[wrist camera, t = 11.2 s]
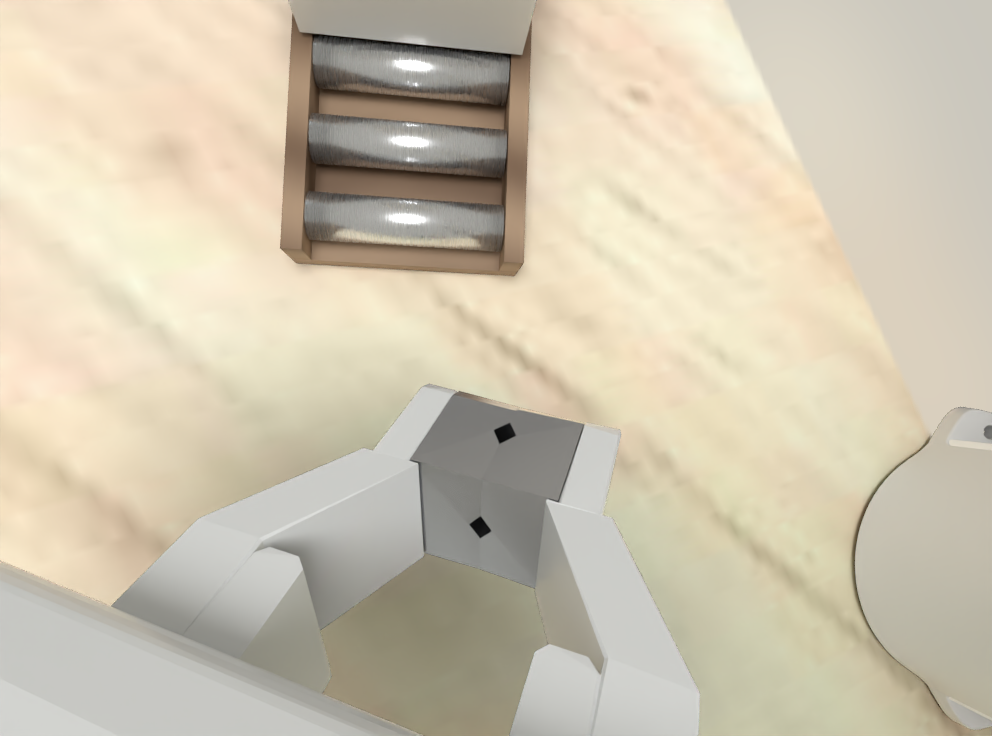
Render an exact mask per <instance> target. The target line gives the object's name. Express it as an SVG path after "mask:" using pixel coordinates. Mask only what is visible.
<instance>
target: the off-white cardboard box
mask: <svg viewBox="0 0 992 736" xmlns="http://www.w3.org/2000/svg"><path fill="white" fill-rule="evenodd" d="M288 2H289V4H290V7H291V10H292V12H293V15H294V18H295V20H296V23H297V26H298V29H299V31H300V32H304V33H314V34H324V35H333V36H343V37H353V38H362V39H372V40H382V41H391V42H401V43H411V44H420V45H430V46H440V47H449V48H459V49H469V50H478V51H488V52H498V53H507V54H517V55H522V53H523V49H524V46H525V42H526V38H527V34H528V31H529V27H530V23H531V19H532V16H533V12H534V8H535V4H536V0H288Z"/></svg>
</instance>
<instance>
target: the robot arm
mask: <svg viewBox="0 0 992 736" xmlns="http://www.w3.org/2000/svg"><path fill="white" fill-rule="evenodd" d="M984 431H985V432H984ZM983 432H984V433H983ZM620 437H621V432H620V430H619V429H615V428H610V427H605V426H601V425H596V424H592V423H584V422H579V421H575V420H571V419H567V418H562V417H558V416H554V415H550V414H545V413H541V412H537V411H533V410H528V409H524V408H520V407H517V406H513V405H509V404H506V403H502V402H498V401H494V400H491V399H487V398H483V397H479V396H475V395H472V394H468V393H464V392H460V391H459V392H457V391H455V390H451V389H447V388H443V387H440V386H436V385H432V384H427V385H425V386H423V387H421V388H420V389H419V391H418V392H417V393H416V395H415V396H414V397H413V399H412V400H411V401H410V402H409V404H408V405H407V406H406V408H405V409H404V410H403V412H402V413H401V414H400V415H399V417H398V418H397V419H396V421H395V422H394V423H393V425H392V426H391V427H390V428H389V430H388V431H387V432H386V434H385V435H384V436H383V438H382V439H381V440H380V441H379V443H378V444H377V445H376V447H375V448H374V449H373V450H369V449H365V448H362V449H360V450H358V451H355V452H353V453H351V454H348V455H346V456H344V457H341V458H339V459H337V460H334V461H332V462H330V463H327V464H325V465H322V466H320V467H318V468H315V469H313V470H311V471H308V472H306V473H304V474H301V475H299V476H297V477H294V478H292V479H290V480H287V481H285V482H283V483H280V484H278V485H276V486H273V487H271V488H269V489H266V490H264V491H261V492H259V493H257V494H254V495H252V496H250V497H247V498H245V499H243V500H240V501H238V502H236V503H233V504H231V505H229V506H226V507H224V508H222V509H219V510H217V511H215V512H212V513H210V514H208V515H205V516H203V517H200V518H198V519H197V520H196V521H195V522H194V523H193V524H192V525H191V526H190V527H189V528H188V529H187V530H186V531H185V532H184V533H183V534H182V535H181V536H180V537H179V538H178V539H177V540H176V541H175V542H174V543H173V544H172V545H171V546H170V547H169V548H168V549H167V550H166V551H165V552H164V553H163V554H162V555H161V556H160V557H159V558H158V559H157V560H156V561H155V562H154V564H153V565H152V566H151V567H150V568H149V569H148V570H147V571H146V572H145V573H144V574H143V575H142V576H141V577H140V578H139V579H138V580H137V581H136V582H135V583H134V584H133V585H132V586H131V587H130V588H129V589H128V590H127V591H126V592H125V593H124V594H123V595H122V596H121V597H120V598H119V599H118V600H117V601H116V602H115V603H114V604H113V605H112V606H109V605H107V604H104V603H102V602H99V601H97V600H95V599H92V598H90V597H87V596H85V595H82V594H80V593H78V592H75V591H73V590H70V589H68V588H65V587H63V586H61V585H58V584H56V583H53V582H51V581H49V580H46V579H44V578H41V577H39V576H36V575H34V574H32V573H29V572H27V571H24V570H22V569H19V568H17V567H15V566H12V565H10V564H7V563H5V562H2V561H0V736H424V735H421V734H419V733H416V732H414V731H412V730H409V729H407V728H404V727H402V726H400V725H397V724H395V723H392V722H390V721H387V720H385V719H383V718H380V717H378V716H375V715H373V714H371V713H368V712H366V711H363V710H361V709H358V708H356V707H354V706H351V705H349V704H346V703H344V702H342V701H339V700H337V699H334V698H332V697H329V696H327V695H325V694H322V693H323V692H324V690H325V688H326V686H327V684H328V683H329V681H330V679H331V677H332V675H331V670H330V664H329V661H328V657H327V654H326V650H325V646H324V643H323V639H322V636H321V632H320V630H322V629H323V628H324V627H326V626H327V625H329V624H330V623H331V622H333V621H334V620H336V619H337V618H338V617H340V616H341V615H343V614H344V613H345V612H347V611H348V610H350V609H351V608H352V607H354V606H355V605H357V604H358V603H359V602H361V601H362V600H364V599H365V598H366V597H368V596H369V595H371V594H372V593H373V592H375V591H376V590H378V589H379V588H380V587H382V586H383V585H385V584H386V583H387V582H389V581H390V580H392V579H393V578H394V577H396V576H397V575H399V574H400V573H401V572H403V571H404V570H406V569H407V568H408V567H410V566H411V565H413V564H414V563H415V562H417V561H418V560H419V559H421V558H422V557H424V553H427V554H430V555H434V556H437V557H440V558H444V559H447V560H451V561H454V562H457V563H461V564H464V565H468V566H471V567H474V568H478V569H479V568H480V569H481V570H484V571H486V572H489V573H492V574H495V575H498V576H501V577H503V578H506V579H509V580H512V581H515V582H518V583H520V584H523V585H526V586H529V587H532V588H535V595H536V599H537V602H538V606H539V610H540V614H541V618H542V622H543V626H544V630H545V634H546V638H547V642H548V645H546V646H544V647H543V648H541V649H539V650H537V651H535V653H534V656H533V659H532V663H531V666H530V669H529V672H528V676H527V679H526V682H525V685H524V689H523V692H522V695H521V698H520V702H519V705H518V708H517V711H516V715H515V718H514V721H513V724H512V728H511V731H510V734H509V736H698V733H699V708H700V692H699V690H698V688H697V686H696V684H695V682H694V680H693V678H692V676H691V674H690V672H689V670H688V668H687V666H686V664H685V662H684V660H683V658H682V656H681V654H680V652H679V650H678V648H677V646H676V644H675V642H674V640H673V638H672V636H671V634H670V632H669V630H668V628H667V626H666V624H665V622H664V620H663V618H662V616H661V614H660V612H659V610H658V608H657V606H656V604H655V602H654V600H653V598H652V596H651V594H650V592H649V590H648V588H647V586H646V584H645V582H644V580H643V578H642V575H641V573H640V571H639V569H638V567H637V565H636V563H635V561H634V559H633V557H632V555H631V553H630V551H629V549H628V547H627V545H626V543H625V541H624V539H623V537H622V535H621V533H620V531H619V529H618V527H617V525H616V523H615V521H614V519H613V518H610V517H607V516H604V515H603V514H604V510H605V505H606V501H607V496H608V492H609V487H610V483H611V478H612V474H613V469H614V465H615V460H616V455H617V451H618V446H619V442H620ZM855 576H856V585H857V591H858V595H859V599H860V603H861V606H862V609H863V612H864V614H865V617H866V619H867V621H868V623H869V625H870V627H871V629H872V631H873V633H874V634H875V636H876V637H877V639H878V640H879V642H880V643H881V644H882V646H883V647H884V648H885V649H886V650H887V651H888V652H889V654H890V655H891V656H893V657H894V658H895V659H896V660H897V661H898V662H899V663H900V664H902V665H903V666H904V667H906V668H907V669H909V670H910V671H911V672H913V673H914V674H916V675H917V676H918V677H919V678H921V679H922V680H923V681H924V682H925V683H926V684H927V685H928V687H929V688H930V690H931V692H932V694H933V696H934V697H935V699H936V701H937V702H938V704H939V706H940V707H941V709H942V710H943V711H944V713H945V714H946V715H947V716H948V717H949V718H950V719H951V720H953V721H955V722H957V723H959V724H961V725H963V726H965V727H967V728H969V729H972V730H979V729H984V728H988V727H991V726H992V413H990V412H987V411H983V410H979V409H971V408H965V407H958V408H954V409H953V410H951V411H950V412H949V413H948V414H947V415H946V416H945V417H944V418H943V420H942V421H941V423H940V424H939V426H938V427H937V429H936V431H935V432H934V434H933V436H932V437H931V439H930V441H929V443H928V444H927V445H926V446H925V447H924V448H923V449H922V450H920V451H919V452H918V453H917V454H915V455H914V456H912V457H911V458H910V459H908V460H907V461H905V462H904V463H903V464H901V465H900V466H899V467H898V468H896V469H895V470H894V471H893V472H892V473H891V474H890V475H889V476H888V477H887V479H886V480H885V481H884V482H883V483H882V485H881V486H880V487H879V489H878V490H877V492H876V493H875V495H874V496H873V498H872V500H871V502H870V503H869V506H868V508H867V510H866V512H865V515H864V517H863V520H862V523H861V526H860V530H859V534H858V538H857V544H856V553H855Z"/></svg>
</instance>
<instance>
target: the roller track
mask: <svg viewBox="0 0 992 736" xmlns="http://www.w3.org/2000/svg"><path fill="white" fill-rule="evenodd" d="M531 25H532V19H531V23H530V27H529V31H528V34H527V38H526V42H525V46H524V49H523V53H522V55H517V54H507V53H498V52H488V51H478V50H469V49H459V48H449V47H440V46H430V45H420V44H411V43H401V42H391V41H382V40H372V39H362V38H353V37H343V36H333V35H324V34H314V33H304V32H300V31H299V29H298V26H297V23H296V20H295V18H294V15H293V14H292V33H291V52H290V71H289V90H288V109H287V128H286V147H285V166H284V185H283V204H282V223H281V242H280V248H281V249H282V250H283V251H284V252H285V253H286V254H287V255H288V256H289V257H290V258H291V259H292V260H293V261H295V262H296V263H304V264H321V265H338V266H355V267H372V268H389V269H406V270H423V271H440V272H457V273H474V274H491V275H508V276H515V274H516V273H517V272H518V270H519V269H520V267H521V266H522V265H523V263H524V235H525V205H526V175H527V145H528V115H529V85H530V55H531Z"/></svg>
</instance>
